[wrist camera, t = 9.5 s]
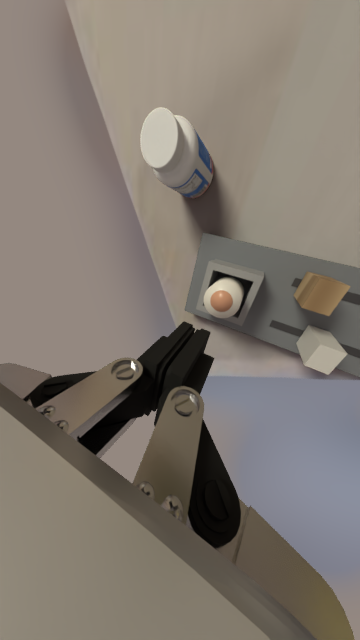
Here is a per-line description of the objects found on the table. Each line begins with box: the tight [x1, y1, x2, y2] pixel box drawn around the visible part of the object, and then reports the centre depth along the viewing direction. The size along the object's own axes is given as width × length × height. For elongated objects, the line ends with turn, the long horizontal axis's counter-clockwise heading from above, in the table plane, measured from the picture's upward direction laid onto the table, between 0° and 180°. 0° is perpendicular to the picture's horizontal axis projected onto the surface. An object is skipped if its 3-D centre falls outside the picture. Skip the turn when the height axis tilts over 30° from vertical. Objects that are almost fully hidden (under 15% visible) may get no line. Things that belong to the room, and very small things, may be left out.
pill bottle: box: [140, 108, 213, 198], centre depth 19 cm, size 6×5×10 cm
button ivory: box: [204, 277, 244, 318], centre depth 20 cm, size 4×4×4 cm
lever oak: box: [294, 271, 351, 316], centre depth 17 cm, size 2×3×5 cm
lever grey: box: [296, 325, 347, 375], centre depth 19 cm, size 2×3×5 cm
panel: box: [185, 233, 360, 377], centre depth 21 cm, size 26×12×7 cm, turn 77°
